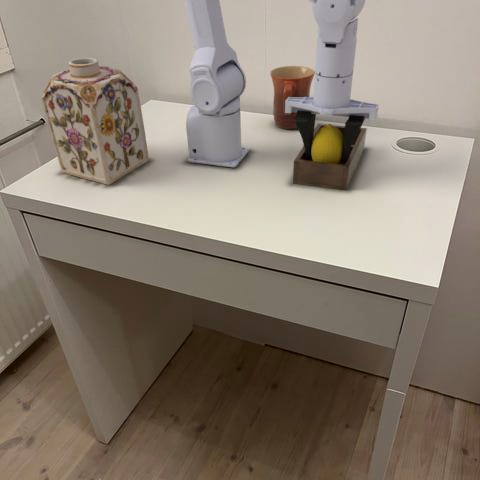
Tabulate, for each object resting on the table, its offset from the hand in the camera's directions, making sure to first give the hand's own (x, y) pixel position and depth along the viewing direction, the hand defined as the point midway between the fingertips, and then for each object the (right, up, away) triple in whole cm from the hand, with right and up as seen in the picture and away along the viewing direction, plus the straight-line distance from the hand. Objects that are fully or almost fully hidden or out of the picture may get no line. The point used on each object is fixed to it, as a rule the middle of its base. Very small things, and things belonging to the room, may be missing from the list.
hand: (326, 158), depth 85 cm
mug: (-4, +13, +20) cm, 24 cm away
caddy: (+2, 0, +5) cm, 5 cm away
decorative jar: (-39, +1, +7) cm, 40 cm away
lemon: (0, -2, +2) cm, 2 cm away
